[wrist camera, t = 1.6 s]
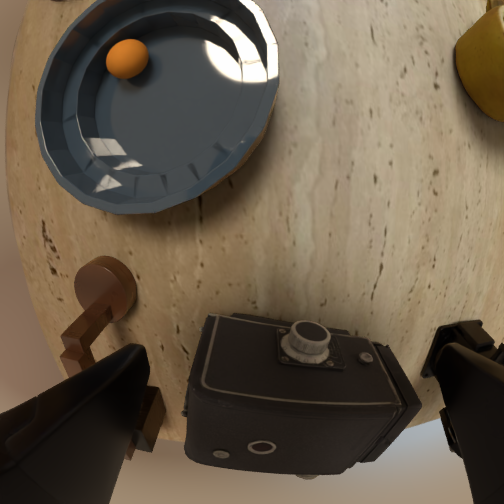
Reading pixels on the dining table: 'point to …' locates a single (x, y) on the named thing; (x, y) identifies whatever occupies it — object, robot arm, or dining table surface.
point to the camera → (292, 397)
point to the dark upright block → (149, 420)
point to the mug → (484, 60)
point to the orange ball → (127, 58)
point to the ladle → (97, 312)
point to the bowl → (156, 101)
